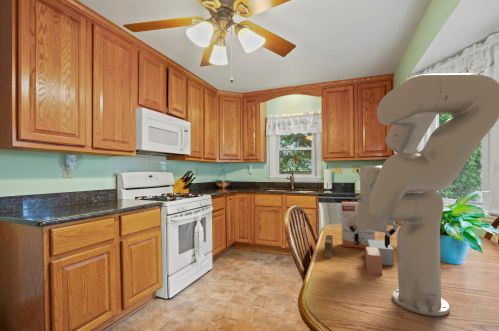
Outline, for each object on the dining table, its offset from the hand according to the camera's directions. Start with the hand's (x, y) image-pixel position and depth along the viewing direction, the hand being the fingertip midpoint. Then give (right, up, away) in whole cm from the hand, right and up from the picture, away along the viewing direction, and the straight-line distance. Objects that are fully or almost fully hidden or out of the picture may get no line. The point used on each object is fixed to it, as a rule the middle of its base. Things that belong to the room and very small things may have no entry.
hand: (371, 245), depth 91 cm
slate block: (+8, -8, +9) cm, 14 cm away
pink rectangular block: (0, -8, -1) cm, 8 cm away
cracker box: (+6, -9, +25) cm, 28 cm away
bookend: (-11, -9, +16) cm, 21 cm away
